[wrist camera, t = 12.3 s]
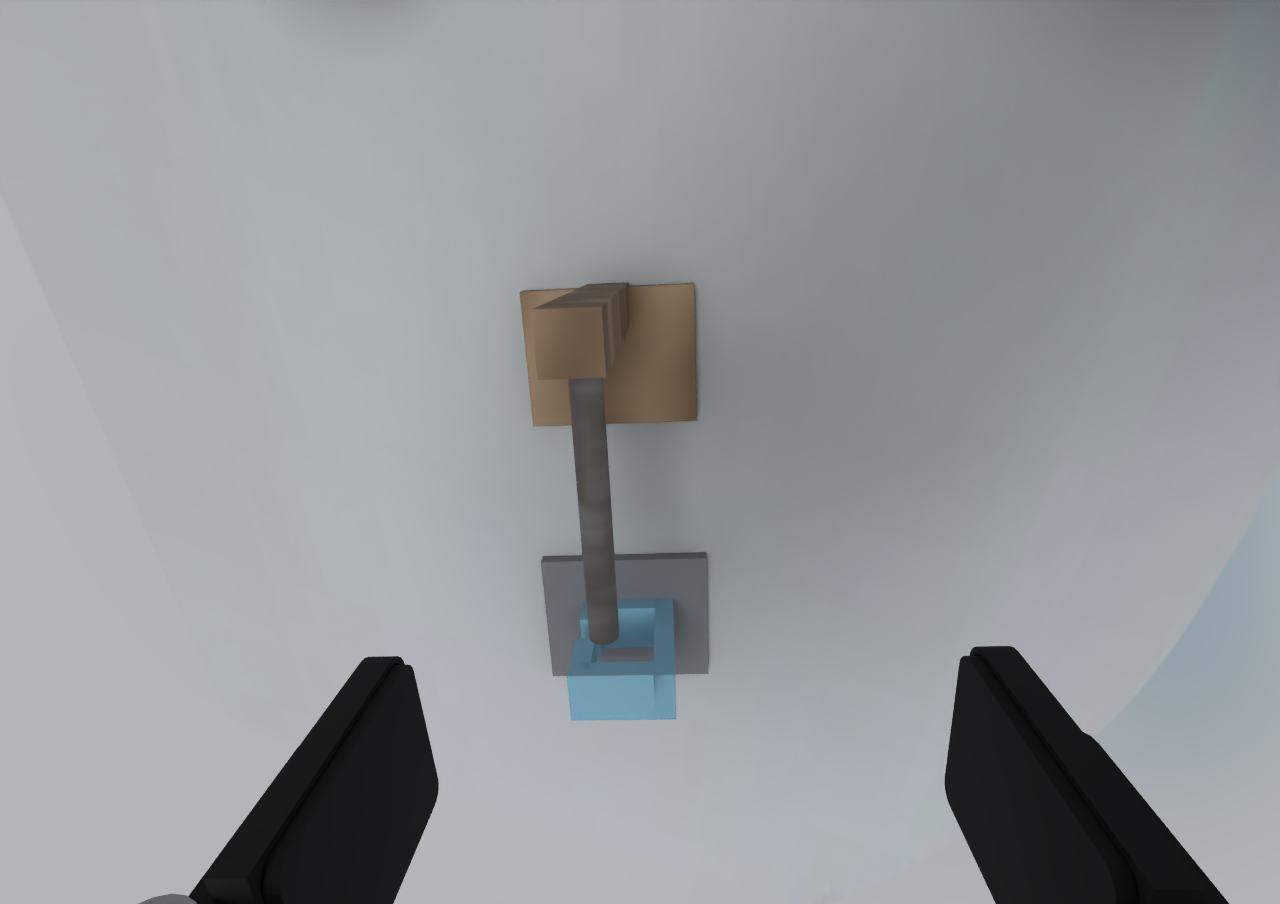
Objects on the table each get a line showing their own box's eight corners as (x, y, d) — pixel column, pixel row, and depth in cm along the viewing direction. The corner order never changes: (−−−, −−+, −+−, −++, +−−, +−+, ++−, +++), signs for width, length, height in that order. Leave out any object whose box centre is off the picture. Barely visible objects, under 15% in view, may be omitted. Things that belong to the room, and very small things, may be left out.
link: (672, 598, 42) (674, 674, 34) (674, 636, 43) (676, 719, 35) (584, 599, 42) (567, 676, 35) (587, 638, 43) (571, 720, 36)
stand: (693, 279, 36) (715, 301, 21) (697, 518, 41) (719, 685, 25) (523, 287, 37) (419, 314, 21) (547, 522, 42) (476, 688, 26)
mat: (705, 552, 42) (706, 558, 41) (707, 666, 45) (708, 673, 44) (543, 556, 42) (541, 562, 42) (554, 668, 45) (553, 675, 44)
